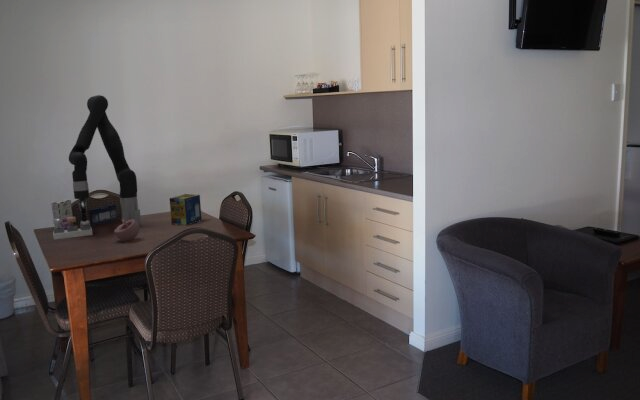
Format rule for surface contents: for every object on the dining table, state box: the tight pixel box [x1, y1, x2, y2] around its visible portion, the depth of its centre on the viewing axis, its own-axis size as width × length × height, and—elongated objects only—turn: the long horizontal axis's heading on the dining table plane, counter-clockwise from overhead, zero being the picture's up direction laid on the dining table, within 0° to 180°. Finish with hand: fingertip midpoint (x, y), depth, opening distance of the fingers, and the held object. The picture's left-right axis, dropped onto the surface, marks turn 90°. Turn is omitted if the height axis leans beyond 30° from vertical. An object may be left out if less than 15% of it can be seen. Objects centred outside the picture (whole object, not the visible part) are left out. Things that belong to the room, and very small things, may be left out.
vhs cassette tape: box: [87, 204, 119, 227], centre depth 331 cm, size 18×3×10 cm, turn 148°
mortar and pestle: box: [113, 218, 140, 242], centre depth 281 cm, size 12×12×12 cm
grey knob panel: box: [52, 224, 93, 241], centre depth 299 cm, size 19×7×5 cm, turn 115°
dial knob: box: [67, 216, 77, 226], centre depth 298 cm, size 4×4×5 cm
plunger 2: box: [80, 219, 90, 226], centre depth 301 cm, size 4×4×4 cm
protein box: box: [169, 193, 202, 226], centre depth 322 cm, size 10×15×16 cm
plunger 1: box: [52, 218, 63, 227], centre depth 295 cm, size 4×4×4 cm
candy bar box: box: [51, 199, 75, 230], centre depth 317 cm, size 11×5×16 cm, turn 168°
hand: (84, 221), depth 301 cm, fingers closed
